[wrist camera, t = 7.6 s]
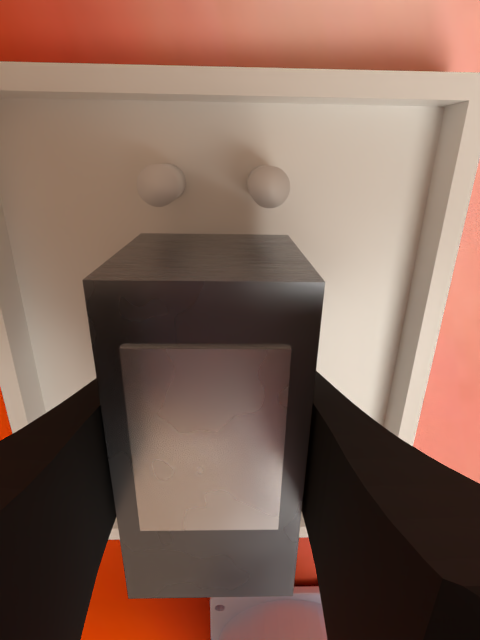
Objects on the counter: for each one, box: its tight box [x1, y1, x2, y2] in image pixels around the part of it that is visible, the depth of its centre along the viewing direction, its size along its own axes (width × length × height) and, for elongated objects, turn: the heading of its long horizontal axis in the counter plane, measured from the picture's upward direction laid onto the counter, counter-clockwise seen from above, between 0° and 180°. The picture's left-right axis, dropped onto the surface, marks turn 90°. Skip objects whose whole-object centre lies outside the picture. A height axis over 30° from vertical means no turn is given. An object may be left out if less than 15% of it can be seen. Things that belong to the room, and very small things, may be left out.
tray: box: [0, 61, 480, 540], centre depth 13 cm, size 16×14×3 cm
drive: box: [82, 233, 325, 599], centre depth 10 cm, size 8×4×5 cm, turn 179°
